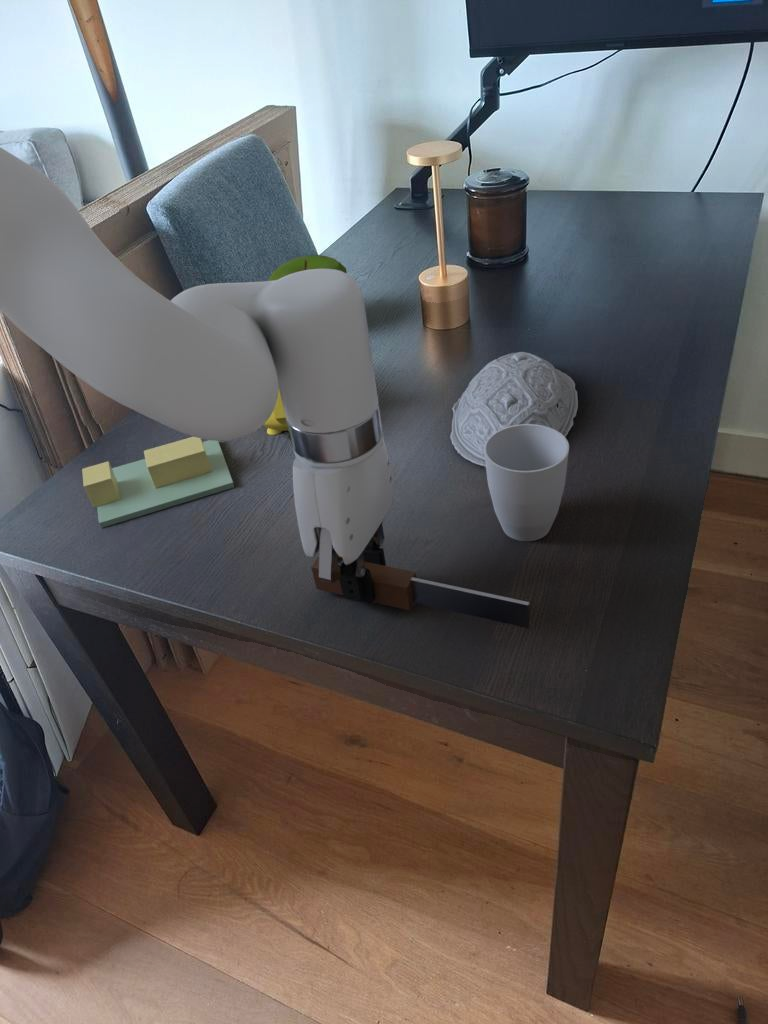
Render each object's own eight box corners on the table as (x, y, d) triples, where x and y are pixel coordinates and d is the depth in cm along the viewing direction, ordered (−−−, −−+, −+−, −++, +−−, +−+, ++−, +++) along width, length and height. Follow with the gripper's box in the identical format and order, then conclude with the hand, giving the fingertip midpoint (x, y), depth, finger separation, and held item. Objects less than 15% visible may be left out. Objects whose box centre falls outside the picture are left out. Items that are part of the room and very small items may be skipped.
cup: (577, 513, 80) (582, 434, 74) (546, 560, 75) (548, 480, 69) (507, 494, 84) (506, 417, 78) (473, 538, 79) (469, 459, 73)
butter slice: (93, 507, 90) (83, 486, 88) (91, 489, 93) (81, 468, 91) (120, 499, 91) (111, 478, 89) (117, 481, 94) (108, 460, 92)
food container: (586, 363, 103) (582, 318, 98) (564, 481, 86) (559, 433, 81) (474, 369, 108) (467, 326, 104) (433, 481, 91) (422, 436, 87)
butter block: (155, 488, 92) (146, 467, 90) (151, 471, 95) (143, 450, 93) (211, 471, 93) (205, 450, 91) (206, 455, 96) (199, 434, 94)
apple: (282, 316, 128) (268, 250, 121) (354, 307, 127) (344, 240, 120) (276, 351, 118) (260, 281, 111) (354, 341, 118) (343, 270, 111)
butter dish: (101, 528, 88) (98, 523, 88) (95, 478, 96) (93, 473, 96) (234, 487, 91) (233, 482, 91) (218, 442, 100) (217, 437, 99)
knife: (316, 589, 75) (310, 565, 73) (326, 574, 76) (321, 550, 74) (525, 637, 66) (525, 612, 64) (532, 619, 68) (532, 594, 66)
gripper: (338, 374, 68) (365, 528, 80) (245, 477, 58) (292, 639, 69) (414, 383, 66) (431, 542, 77) (332, 493, 55) (366, 659, 66)
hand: (365, 586), depth 73 cm, fingers closed on knife, 2 cm apart
